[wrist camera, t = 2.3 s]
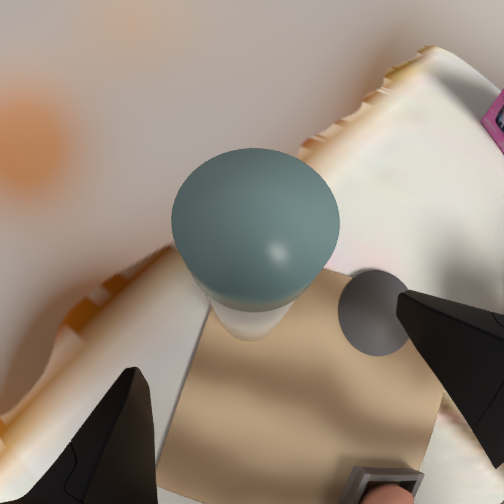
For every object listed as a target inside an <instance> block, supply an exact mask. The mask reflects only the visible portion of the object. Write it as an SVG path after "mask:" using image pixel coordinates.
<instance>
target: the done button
mask: <svg viewBox="0 0 504 504" xmlns="http://www.w3.org/2000/svg"><path fill="white" fill-rule="evenodd" d="M358 504H414V498H413V496H412V494H411V493H410V492H408V491H406V490H405V489H403V488H402V487H400V486H398V485H397V484H395V483H393V482H383V483H379V484H377V485H375V486H373V487H371V488H369V489H368V490H367V491H366V492H364V493H363V494H362V496H361V498H360V500H359V502H358Z"/></svg>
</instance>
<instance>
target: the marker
mask: <svg viewBox="0 0 504 504" xmlns="http://www.w3.org/2000/svg"><path fill="white" fill-rule="evenodd" d="M171 219H172V232H173V237H174V240H175V243H176V246H177V248H178V250H179V252H180V254H181V256H182V258H183V260H184V261H185V263H186V265H187V267H188V269H189V271H190V272H191V274H192V276H193V278H194V280H195V281H196V283H197V284H198V285H199V287H200V288H201V289H202V290H203V291H204V292H205V294H206V295H207V297H208V299H209V301H210V303H211V305H212V307H213V308H214V310H215V312H216V314H217V316H218V318H219V319H220V321H221V323H222V325H223V327H224V328H225V330H226V331H227V332H228V333H229V334H230V335H232V336H233V337H235V338H237V339H239V340H242V341H257V340H260V339H262V338H264V337H266V336H268V335H269V334H270V333H271V332H272V331H273V330H274V328H275V327H276V326H277V324H278V323H279V322H280V320H281V319H282V318H283V316H284V315H285V314H286V312H287V311H288V309H289V308H290V307H291V305H292V304H293V303H294V301H295V300H296V299H297V298H298V297H299V296H301V295H302V294H303V293H304V292H305V291H306V289H307V288H308V287H309V286H310V285H311V283H312V282H313V281H314V279H315V278H316V277H317V275H318V274H319V273H320V271H321V270H322V268H323V267H324V266H325V264H326V263H327V261H328V260H329V258H330V257H331V255H332V253H333V251H334V249H335V246H336V244H337V240H338V236H339V228H340V219H339V211H338V207H337V203H336V200H335V198H334V196H333V194H332V192H331V190H330V188H329V187H328V185H327V184H326V182H325V181H324V180H323V179H322V177H321V176H320V175H319V174H318V173H317V172H316V171H315V170H313V169H312V168H311V167H310V166H308V165H307V164H306V163H304V162H302V161H300V160H299V159H297V158H295V157H292V156H290V155H288V154H285V153H282V152H279V151H274V150H269V149H260V148H249V149H239V150H234V151H230V152H226V153H223V154H220V155H218V156H216V157H214V158H212V159H210V160H208V161H207V162H205V163H204V164H202V165H201V166H199V167H198V168H197V169H196V170H195V171H193V172H192V173H191V175H190V176H189V177H188V178H187V179H186V180H185V182H184V183H183V185H182V186H181V188H180V189H179V191H178V194H177V196H176V198H175V201H174V205H173V209H172V217H171Z"/></svg>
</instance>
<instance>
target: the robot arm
mask: <svg viewBox="0 0 504 504" xmlns="http://www.w3.org/2000/svg"><path fill="white" fill-rule="evenodd" d="M396 316H397V318H398V320H399V322H400V323H401V325H402V326H403V328H404V330H405V331H406V333H407V335H408V336H409V338H410V340H411V341H412V343H413V345H414V346H415V348H416V349H417V351H418V352H419V354H420V355H421V356H422V358H423V359H424V360H425V362H426V363H427V364H428V366H429V367H430V369H431V370H432V371H433V373H434V374H435V376H436V377H437V378H438V380H439V381H440V383H441V384H442V386H443V387H444V388H445V390H446V391H447V393H448V394H449V396H450V397H451V399H452V400H453V402H454V403H455V405H456V406H457V408H458V409H459V411H460V412H461V414H462V415H463V417H464V418H465V420H466V421H467V423H468V424H469V426H470V428H471V429H472V431H473V433H474V434H475V436H476V437H477V439H478V441H479V442H480V444H481V446H482V447H483V449H484V451H485V452H486V454H487V456H488V458H489V459H490V461H491V463H492V465H493V466H494V468H495V469H497V468H498V467H499V466H500V465H501V464H502V463H504V315H502V314H498V313H494V312H490V311H487V310H483V309H479V308H476V307H472V306H468V305H465V304H461V303H457V302H453V301H450V300H446V299H442V298H439V297H435V296H431V295H427V294H424V293H420V292H416V291H412V290H405V291H403V292H400V293H399V294H398V298H397V306H396ZM0 504H158V499H157V486H156V469H155V442H154V423H153V415H152V407H151V398H150V389H149V385H148V383H147V381H146V379H145V378H144V376H143V374H142V373H141V371H140V369H139V368H138V367H130V368H126V369H125V370H124V371H123V372H122V373H121V375H120V376H119V377H118V379H117V380H116V381H115V382H114V384H113V385H112V386H111V388H110V389H109V390H108V392H107V393H106V394H105V396H104V397H103V398H102V399H101V401H100V402H99V403H98V405H97V406H96V407H95V409H94V410H93V411H92V413H91V414H90V415H89V417H88V418H87V419H86V421H85V422H84V424H83V425H82V426H81V428H80V429H79V430H78V432H77V433H76V434H75V436H74V437H73V438H72V440H71V442H69V444H68V445H67V447H66V448H65V449H64V451H63V452H62V453H61V455H60V456H59V457H58V459H57V460H56V461H55V462H54V463H53V465H52V466H51V467H50V468H49V469H48V471H47V472H46V473H45V474H44V475H43V476H42V477H41V478H40V480H39V481H38V482H37V483H36V484H35V485H34V486H33V488H32V489H31V490H30V491H29V492H28V493H27V494H26V495H24V496H23V497H21V498H19V499H17V500H13V501H8V502H3V503H0ZM501 504H504V501H503V502H502V503H501Z"/></svg>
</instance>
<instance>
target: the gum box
mask: <svg viewBox="0 0 504 504" xmlns="http://www.w3.org/2000/svg"><path fill="white" fill-rule="evenodd" d="M481 122H482V124H483V125H484V126H485V128H486V129H487V130H488V132H489V133H490V135H491V136H492V138H493V139H494V140H495V142H496V143H497V145H498V146H499V147H500V149H501V150H502V152H503V153H504V89H503V90H502V92H501V93H500V94H499V96H498V97H497V99H496V100H495V102H494V103H493V104H492V106H491V107H490V108H489V110H488V111H487V113H486V114H485V115H484V117H483V118H482V120H481Z"/></svg>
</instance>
